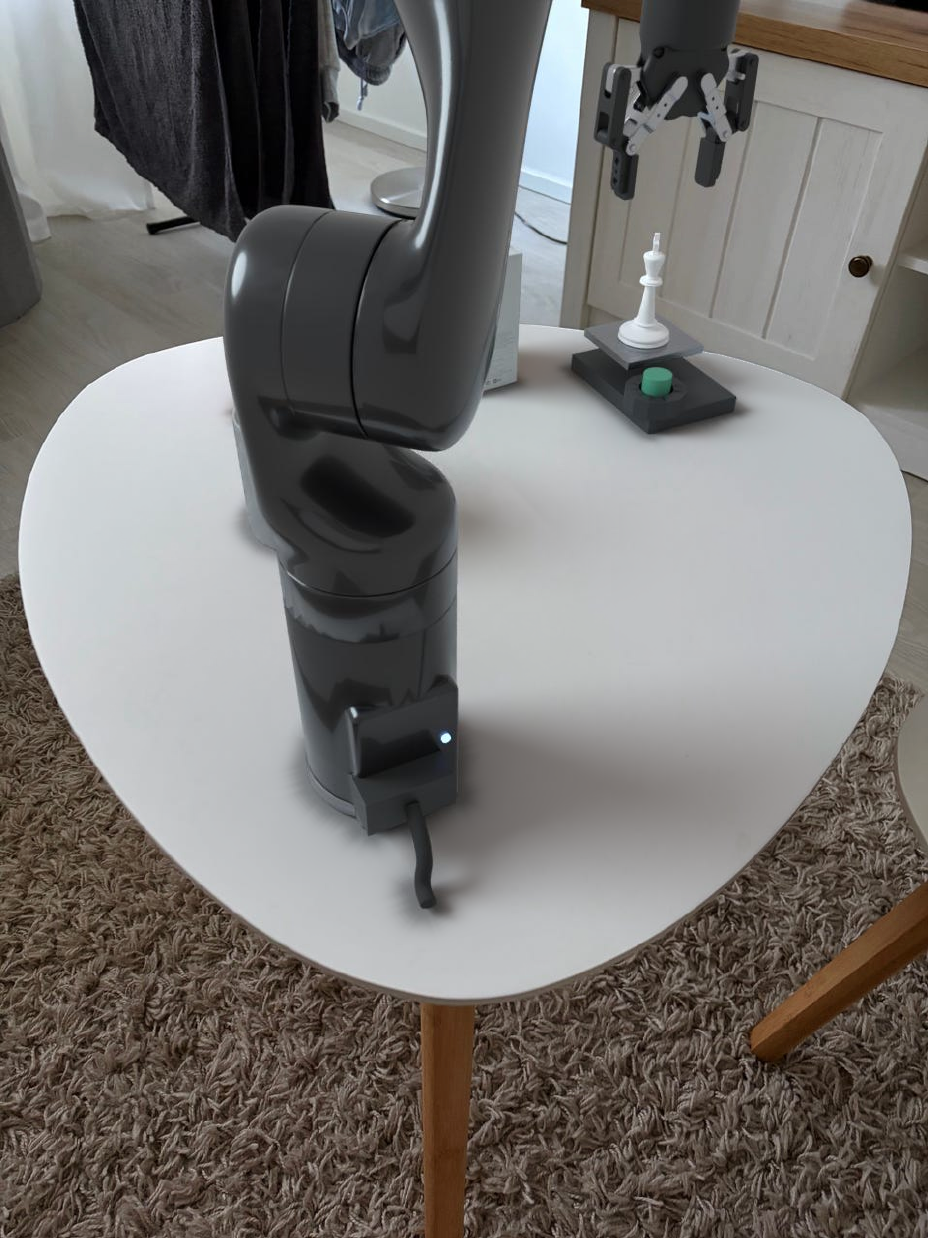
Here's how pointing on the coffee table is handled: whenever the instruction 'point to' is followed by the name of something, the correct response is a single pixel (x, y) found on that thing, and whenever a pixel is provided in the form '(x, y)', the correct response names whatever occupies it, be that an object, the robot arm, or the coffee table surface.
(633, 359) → the pan
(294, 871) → the coffee table surface
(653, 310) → the chess piece
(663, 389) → the tare button
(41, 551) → the coffee table surface
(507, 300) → the small box
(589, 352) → the scale
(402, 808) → the robot arm
